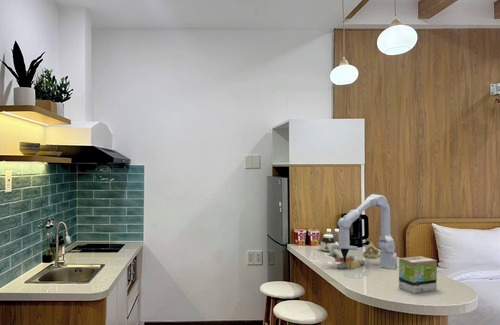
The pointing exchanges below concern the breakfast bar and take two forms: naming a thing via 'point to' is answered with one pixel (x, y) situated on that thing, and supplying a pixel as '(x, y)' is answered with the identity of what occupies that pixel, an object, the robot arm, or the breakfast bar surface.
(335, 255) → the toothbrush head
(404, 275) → the tea box
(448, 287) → the breakfast bar surface
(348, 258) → the lever
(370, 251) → the ceramic model
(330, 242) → the spread jar
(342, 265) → the valve pipe
